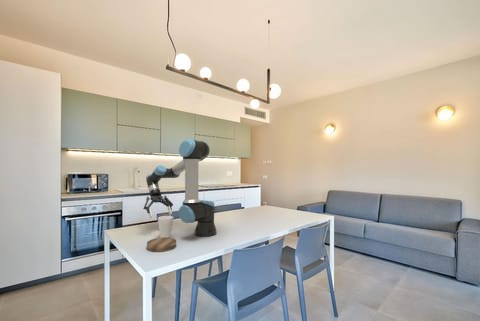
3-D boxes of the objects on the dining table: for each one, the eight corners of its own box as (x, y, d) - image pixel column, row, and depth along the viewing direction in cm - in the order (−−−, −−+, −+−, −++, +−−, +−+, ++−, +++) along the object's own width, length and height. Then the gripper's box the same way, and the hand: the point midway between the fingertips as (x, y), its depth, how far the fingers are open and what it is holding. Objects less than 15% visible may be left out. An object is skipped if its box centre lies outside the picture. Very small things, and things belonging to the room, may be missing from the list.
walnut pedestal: (180, 243, 136) (180, 238, 136) (169, 252, 120) (169, 247, 120) (155, 241, 138) (155, 236, 138) (141, 251, 122) (141, 245, 122)
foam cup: (158, 239, 141) (158, 219, 142) (157, 235, 150) (157, 216, 150) (173, 238, 145) (174, 218, 146) (171, 234, 154) (172, 215, 154)
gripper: (169, 194, 176) (176, 216, 163) (135, 196, 160) (140, 221, 148) (172, 187, 172) (180, 210, 160) (138, 189, 156) (143, 214, 144)
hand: (161, 215), depth 154 cm, fingers open, 13 cm apart
